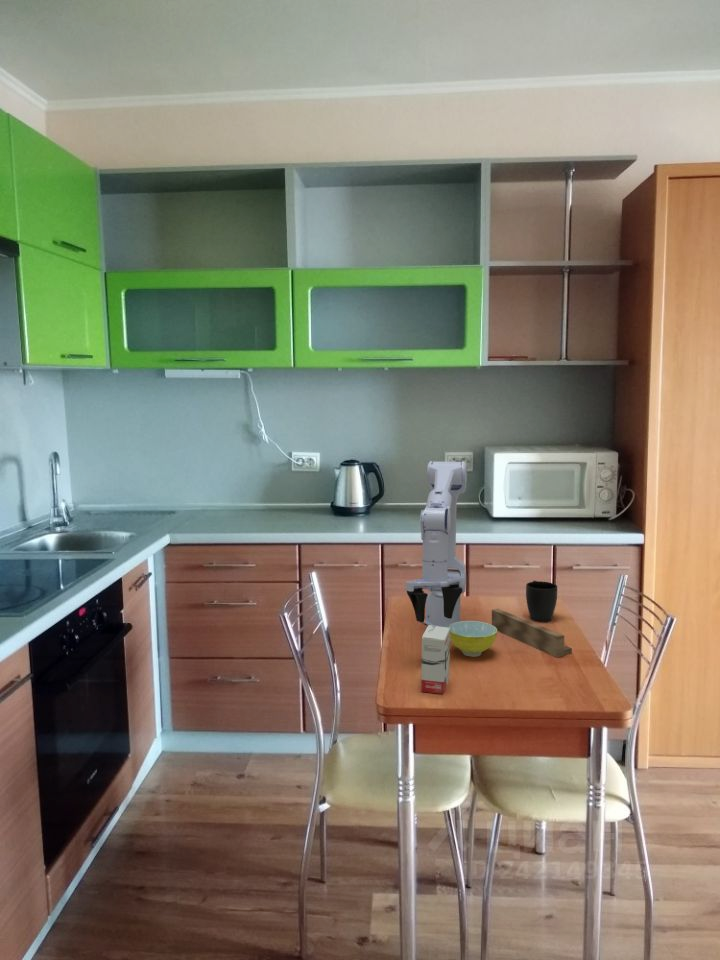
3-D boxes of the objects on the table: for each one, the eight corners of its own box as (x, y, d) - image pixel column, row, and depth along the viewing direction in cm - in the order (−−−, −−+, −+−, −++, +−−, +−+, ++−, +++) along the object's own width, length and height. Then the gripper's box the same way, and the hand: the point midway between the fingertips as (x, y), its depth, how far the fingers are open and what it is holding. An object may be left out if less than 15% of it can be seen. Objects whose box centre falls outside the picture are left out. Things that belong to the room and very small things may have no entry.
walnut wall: (491, 628, 183) (491, 609, 182) (506, 625, 185) (506, 606, 185) (557, 657, 162) (557, 636, 161) (573, 653, 164) (573, 633, 164)
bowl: (486, 666, 157) (486, 639, 157) (440, 656, 163) (440, 631, 163) (503, 650, 167) (504, 625, 166) (459, 642, 173) (459, 617, 172)
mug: (549, 610, 198) (550, 577, 197) (559, 624, 186) (560, 589, 185) (520, 610, 198) (521, 577, 197) (528, 623, 186) (529, 589, 185)
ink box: (444, 694, 142) (444, 639, 141) (420, 692, 144) (420, 637, 142) (450, 678, 150) (450, 625, 149) (427, 676, 152) (427, 624, 150)
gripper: (417, 565, 151) (417, 627, 151) (471, 560, 157) (470, 619, 158) (400, 560, 157) (400, 620, 157) (453, 556, 164) (452, 613, 164)
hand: (434, 619), depth 158 cm, fingers open, 7 cm apart
